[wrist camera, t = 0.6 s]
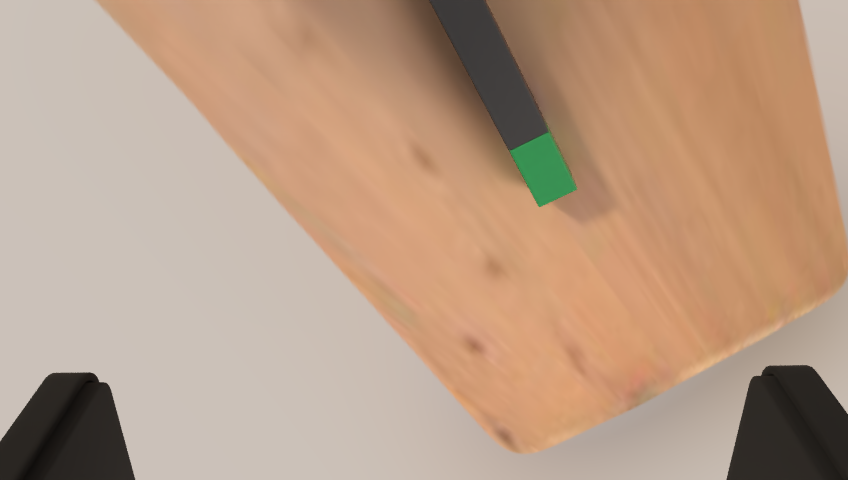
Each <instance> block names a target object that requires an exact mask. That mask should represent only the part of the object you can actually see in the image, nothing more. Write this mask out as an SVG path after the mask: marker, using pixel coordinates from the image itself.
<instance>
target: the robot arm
mask: <svg viewBox="0 0 848 480" xmlns="http://www.w3.org/2000/svg"><path fill="white" fill-rule="evenodd" d="M0 480H135V477H134V474H133V470H132V466H131V462H130V459H129V455H128V451H127V448H126V444H125V440H124V437H123V433H122V430H121V426H120V422H119V418H118V415H117V411H116V407H115V404H114V400H113V396H112V393H111V389H110V387H109V385H108V384H107V383H104V382H99V380H98V378H97V376H96V375H95V374H93V373H52V374H50V375H48V377H46V378H45V380H44V381H43V383H42V384H41V385H40V387H39V388H38V390H37V391H36V392H35V394H34V395H33V396H32V398H31V399H30V401H29V402H28V403H27V405H26V406H25V408H24V409H23V410H22V412H21V413H20V415H19V416H18V417H17V419H16V420H15V422H14V423H13V424H12V426H11V427H10V429H9V430H8V431H7V433H6V434H5V436H4V437H3V438H2V440H1V441H0ZM727 480H848V414H847V413H846V411H845V410H844V409H843V407H842V406H841V404H840V403H839V402H838V400H837V399H836V398H835V396H834V395H833V394H832V392H831V391H830V390H829V388H828V387H827V385H826V384H825V383H824V381H823V380H822V379H821V377H820V376H819V375H818V374H817V372H816V371H815V370H814V369H813V368H812V367H810V366H807V365H800V366H799V365H793V366H768V367H766V368H765V369H764V370H763V372H762V375H761V376H754V377H753V378H752V379H751V381H750V384H749V388H748V392H747V397H746V400H745V405H744V409H743V413H742V417H741V421H740V425H739V430H738V434H737V438H736V442H735V446H734V451H733V455H732V459H731V463H730V467H729V471H728V476H727Z"/></svg>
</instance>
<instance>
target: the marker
mask: <svg viewBox="0 0 848 480" xmlns="http://www.w3.org/2000/svg"><path fill="white" fill-rule="evenodd" d="M429 1H430V3H431V4H432V6H433V8H434V10H435V12H436V14H437V16H438V18H439V20H440V21H441V23H442V25H443V27H444V29H445V31H446V33H447V35H448V37H449V38H450V40H451V42H452V44H453V46H454V48H455V50H456V52H457V53H458V55H459V57H460V59H461V61H462V63H463V65H464V67H465V69H466V70H467V72H468V74H469V76H470V78H471V80H472V82H473V84H474V86H475V87H476V89H477V91H478V93H479V95H480V97H481V99H482V101H483V103H484V104H485V106H486V108H487V110H488V112H489V114H490V116H491V118H492V120H493V121H494V123H495V125H496V127H497V129H498V131H499V133H500V135H501V136H502V138H503V140H504V142H505V144H506V146H507V148H508V150H509V151H510V153H511V155H512V157H513V159H514V161H515V163H516V165H517V167H518V169H519V170H520V172H521V174H522V176H523V178H524V180H525V182H526V184H527V186H528V187H529V189H530V191H531V193H532V195H533V197H534V199H535V201H536V203H537V204H538V206H539V207H541V206H543V205H545V204H547V203H550V202H552V201H554V200H556V199H558V198H560V197H562V196H564V195H567V194H569V193H571V192H573V191H575V190H577V187H576V185H575V182H574V180H573V177H572V175H571V172H570V170H569V168H568V166H567V164H566V162H565V160H564V158H563V156H562V154H561V152H560V150H559V148H558V146H557V144H556V142H555V140H554V138H553V136H552V134H551V132H550V130H549V128H548V126H547V124H546V122H545V120H544V118H543V116H542V114H541V112H540V110H539V108H538V106H537V103H536V101H535V99H534V97H533V95H532V93H531V91H530V89H529V87H528V85H527V83H526V81H525V79H524V77H523V75H522V73H521V71H520V69H519V67H518V65H517V63H516V61H515V59H514V57H513V55H512V53H511V51H510V49H509V47H508V45H507V43H506V41H505V39H504V37H503V35H502V33H501V31H500V29H499V27H498V25H497V23H496V21H495V19H494V17H493V14H492V12H491V10H490V8H489V6H488V4H487V2H486V0H429Z"/></svg>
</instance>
